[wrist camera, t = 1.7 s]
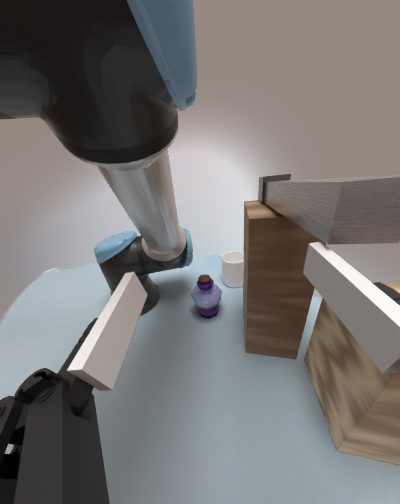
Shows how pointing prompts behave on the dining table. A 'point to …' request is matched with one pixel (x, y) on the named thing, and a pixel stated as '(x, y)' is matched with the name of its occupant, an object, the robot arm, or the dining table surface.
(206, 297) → the potion bottle
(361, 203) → the grey long bar
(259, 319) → the post
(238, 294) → the dining table surface
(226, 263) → the cup
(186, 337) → the dining table surface
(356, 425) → the oak block
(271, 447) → the dining table surface
